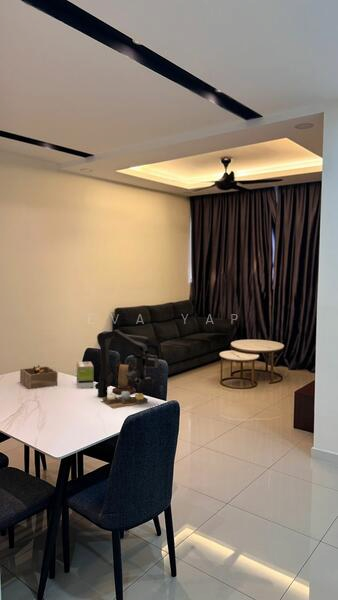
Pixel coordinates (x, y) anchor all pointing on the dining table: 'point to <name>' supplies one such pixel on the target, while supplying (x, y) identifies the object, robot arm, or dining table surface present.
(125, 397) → the slate button
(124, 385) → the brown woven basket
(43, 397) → the dining table surface
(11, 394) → the dining table surface
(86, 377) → the tea box
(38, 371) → the bear figurine
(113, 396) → the cream button
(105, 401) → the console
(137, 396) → the mustard button
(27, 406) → the dining table surface
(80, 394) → the dining table surface
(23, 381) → the box
